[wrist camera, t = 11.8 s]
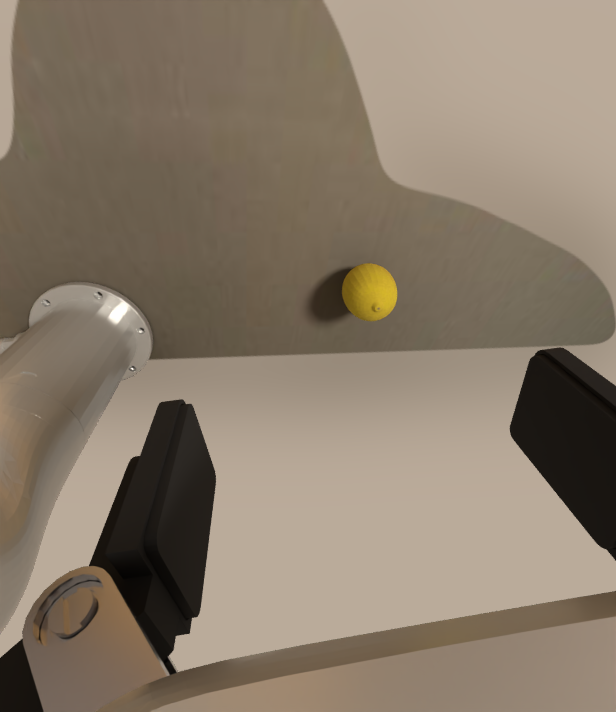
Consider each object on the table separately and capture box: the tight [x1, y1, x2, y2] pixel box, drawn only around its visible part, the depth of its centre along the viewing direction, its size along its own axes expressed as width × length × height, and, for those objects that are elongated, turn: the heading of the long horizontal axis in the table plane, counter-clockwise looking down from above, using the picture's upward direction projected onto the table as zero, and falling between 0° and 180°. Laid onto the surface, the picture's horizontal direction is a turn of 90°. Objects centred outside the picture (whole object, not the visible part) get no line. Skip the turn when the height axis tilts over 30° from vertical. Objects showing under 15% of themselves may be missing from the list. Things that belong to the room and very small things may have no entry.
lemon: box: [342, 263, 397, 321], centre depth 38 cm, size 6×6×8 cm
